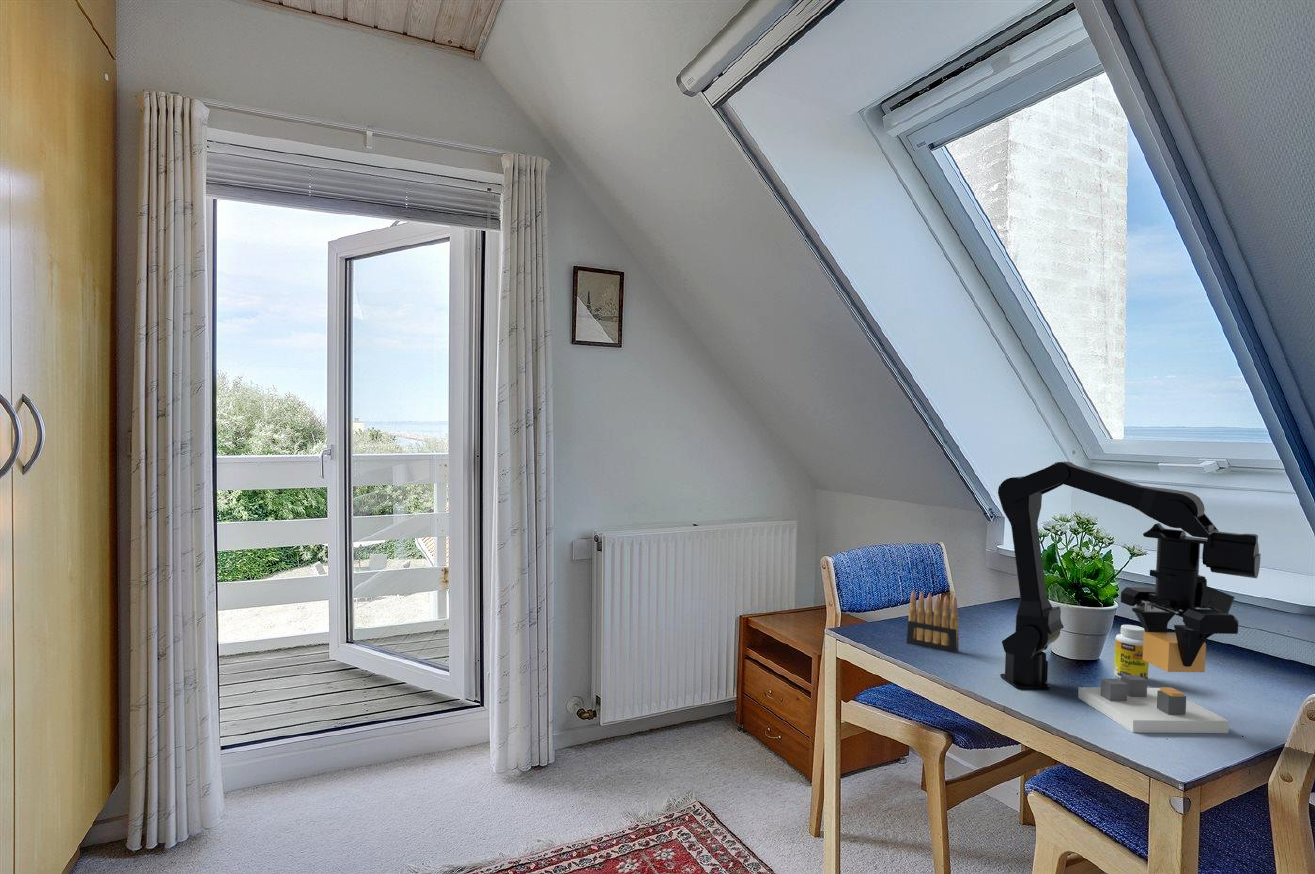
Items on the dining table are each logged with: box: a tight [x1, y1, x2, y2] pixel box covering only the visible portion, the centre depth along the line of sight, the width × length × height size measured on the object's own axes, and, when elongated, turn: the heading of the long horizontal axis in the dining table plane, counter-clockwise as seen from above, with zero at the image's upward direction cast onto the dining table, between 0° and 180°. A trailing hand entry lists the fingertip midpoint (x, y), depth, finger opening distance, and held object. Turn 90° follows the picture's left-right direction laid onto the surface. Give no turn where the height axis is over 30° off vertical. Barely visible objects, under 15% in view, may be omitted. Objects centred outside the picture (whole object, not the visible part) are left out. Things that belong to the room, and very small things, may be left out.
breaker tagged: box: [1157, 686, 1187, 714], centre depth 118 cm, size 3×3×4 cm
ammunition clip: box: [905, 590, 959, 654], centre depth 155 cm, size 11×2×12 cm, turn 53°
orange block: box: [1142, 631, 1207, 673], centre depth 118 cm, size 6×6×5 cm
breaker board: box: [1077, 675, 1230, 734], centre depth 121 cm, size 16×14×5 cm
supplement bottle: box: [1113, 624, 1149, 681], centre depth 139 cm, size 6×6×10 cm
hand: (1172, 659), depth 118 cm, fingers closed on orange block, 6 cm apart
